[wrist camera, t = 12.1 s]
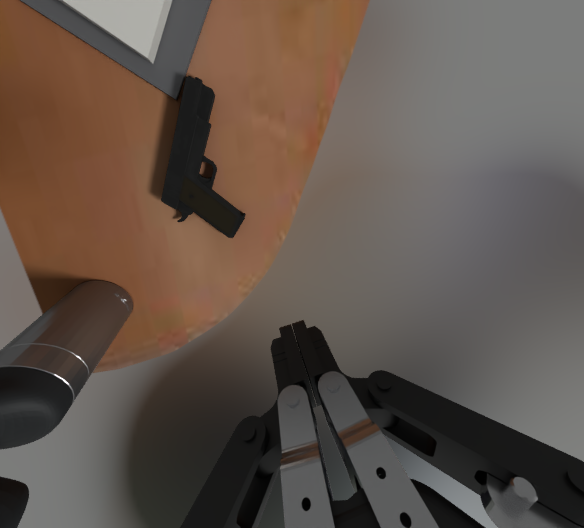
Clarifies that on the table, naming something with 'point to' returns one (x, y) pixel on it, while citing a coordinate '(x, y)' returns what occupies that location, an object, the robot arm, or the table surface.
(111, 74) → the table surface
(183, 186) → the handgun
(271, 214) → the table surface
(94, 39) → the mat
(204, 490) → the robot arm
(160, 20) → the tile
